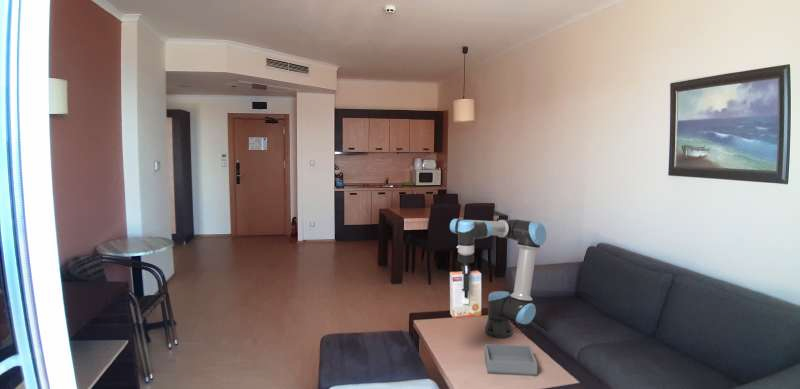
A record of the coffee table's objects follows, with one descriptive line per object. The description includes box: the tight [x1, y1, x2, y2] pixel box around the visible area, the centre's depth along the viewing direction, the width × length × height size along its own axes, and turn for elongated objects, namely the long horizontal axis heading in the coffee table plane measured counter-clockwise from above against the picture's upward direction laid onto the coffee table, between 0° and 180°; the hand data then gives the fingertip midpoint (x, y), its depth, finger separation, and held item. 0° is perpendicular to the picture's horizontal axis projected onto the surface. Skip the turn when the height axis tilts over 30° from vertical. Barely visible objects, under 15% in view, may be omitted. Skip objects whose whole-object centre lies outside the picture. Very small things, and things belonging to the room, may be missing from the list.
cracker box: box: [449, 270, 482, 319], centre depth 209 cm, size 14×6×21 cm, turn 98°
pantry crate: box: [484, 343, 538, 377], centre depth 210 cm, size 18×22×6 cm
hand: (465, 300), depth 209 cm, fingers closed on cracker box, 7 cm apart
